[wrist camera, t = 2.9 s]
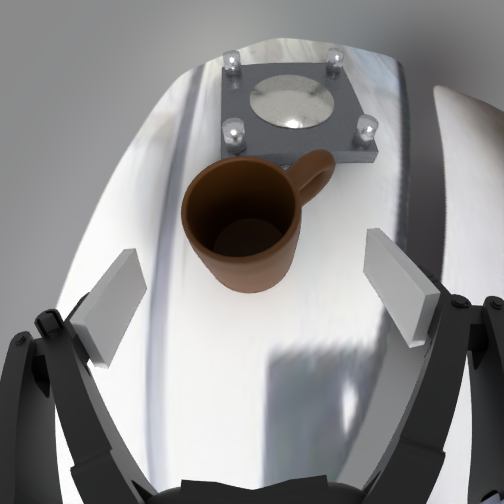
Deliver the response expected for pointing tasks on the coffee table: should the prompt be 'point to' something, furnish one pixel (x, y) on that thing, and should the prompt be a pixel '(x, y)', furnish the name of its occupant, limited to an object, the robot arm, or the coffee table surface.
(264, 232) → the mug
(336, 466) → the coffee table surface
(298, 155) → the chassis
